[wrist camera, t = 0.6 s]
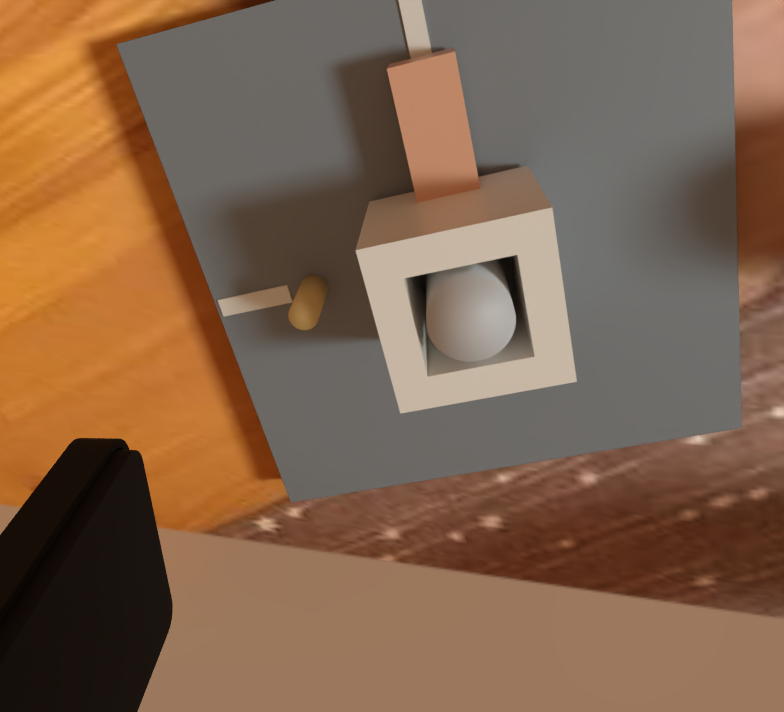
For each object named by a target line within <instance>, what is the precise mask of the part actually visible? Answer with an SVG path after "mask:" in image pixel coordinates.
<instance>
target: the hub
mask: <svg viewBox="0 0 784 712" xmlns="http://www.w3.org/2000/svg"><path fill="white" fill-rule="evenodd" d="M387 72H388V76H389V81H390V85H391V90H392V94H393V98H394V103H395V107H396V112H397V116H398V121H399V125H400V129H401V134H402V138H403V143H404V147H405V151H406V156H407V160H408V165H409V169H410V173H411V178H412V182H413V187H414V192H410V193H405V194H401V195H396V196H392V197H388V198H383V199H379V200H374V201H370V202H369V204H368V208H367V211H366V215H365V218H364V222H363V225H362V229H361V233H360V236H359V240H358V243H357V247H356V254H357V258H358V261H359V265H360V269H361V272H362V276H363V279H364V283H365V287H366V290H367V294H368V298H369V301H370V305H371V309H372V312H373V316H374V319H375V323H376V327H377V330H378V334H379V338H380V341H381V345H382V349H383V352H384V356H385V359H386V363H387V367H388V370H389V374H390V378H391V381H392V385H393V389H394V392H395V396H396V400H397V403H398V407H399V410H400V414H401V413H407V412H412V411H418V410H423V409H429V408H434V407H440V406H445V405H451V404H456V403H462V402H468V401H473V400H479V399H484V398H490V397H495V396H501V395H506V394H512V393H517V392H523V391H528V390H534V389H539V388H545V387H551V386H556V385H562V384H567V383H573V382H577V379H576V372H575V365H574V357H573V350H572V343H571V336H570V329H569V322H568V315H567V308H566V301H565V294H564V286H563V279H562V272H561V265H560V258H559V251H558V244H557V237H556V230H555V223H554V215H553V208H552V206H551V204H550V202H549V201H548V199H547V197H546V195H545V194H544V192H543V190H542V188H541V187H540V185H539V183H538V181H537V180H536V178H535V176H534V174H533V173H532V171H531V169H530V167H529V166H524V167H519V168H515V169H511V170H506V171H502V172H497V173H493V174H489V175H484V176H480V177H478V172H477V167H476V162H475V156H474V151H473V145H472V140H471V134H470V129H469V124H468V118H467V113H466V107H465V102H464V97H463V91H462V86H461V80H460V75H459V70H458V64H457V59H456V53H455V50H454V48H450V49H446V50H442V51H438V52H434V53H430V54H427V55H423V56H419V57H415V58H411V59H407V60H403V61H399V62H395V63H391V64H389V66H388V67H387ZM509 256H510V261H511V267H512V273H513V278H514V284H515V290H516V292H511V293H510V295H511V298H512V302H513V306H514V310H515V314H516V326H515V330H514V333H513V336H512V338H511V340H510V341H509V342H508V344H507V345H506V346H505V347H504V348H503V349H502V350H501V351H500V352H498V353H497V354H496V355H494V356H492V357H490V358H487V359H485V360H481V361H474V362H465V361H459V360H455V359H452V358H450V357H448V356H446V355H445V354H443V353H442V352H440V351H439V350H438V349H437V348H436V347H435V346H434V344H433V343H432V341H431V339H430V337H429V335H428V332H427V326H426V300H425V295H424V291H423V287H422V283H421V278H420V275H423V274H428V273H433V272H438V271H442V270H447V269H452V268H457V267H462V266H466V265H471V264H476V263H481V262H485V261H490V260H495V259H500V258H504V257H509Z"/></svg>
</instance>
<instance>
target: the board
mask: <svg viewBox="0 0 784 712" xmlns="http://www.w3.org/2000/svg"><path fill="white" fill-rule="evenodd" d="M116 45H117V48H118V50H119V53H120V55H121V58H122V61H123V63H124V66H125V69H126V71H127V74H128V76H129V79H130V82H131V84H132V87H133V90H134V92H135V95H136V97H137V100H138V103H139V105H140V108H141V111H142V113H143V116H144V118H145V121H146V124H147V126H148V129H149V132H150V134H151V137H152V139H153V142H154V145H155V147H156V150H157V153H158V155H159V158H160V160H161V163H162V166H163V168H164V171H165V174H166V176H167V179H168V181H169V184H170V187H171V189H172V192H173V195H174V197H175V200H176V202H177V205H178V208H179V210H180V213H181V215H182V218H183V221H184V223H185V226H186V229H187V231H188V234H189V236H190V239H191V242H192V244H193V247H194V250H195V252H196V255H197V257H198V260H199V263H200V265H201V268H202V271H203V273H204V276H205V278H206V281H207V284H208V286H209V289H210V292H211V294H212V297H213V299H214V302H215V305H216V307H217V310H218V313H219V315H220V318H221V320H222V323H223V326H224V328H225V331H226V334H227V336H228V339H229V341H230V344H231V347H232V349H233V352H234V355H235V357H236V360H237V362H238V365H239V368H240V370H241V373H242V376H243V378H244V381H245V383H246V386H247V389H248V391H249V394H250V397H251V399H252V402H253V404H254V407H255V410H256V412H257V415H258V418H259V420H260V423H261V425H262V428H263V431H264V433H265V436H266V439H267V441H268V444H269V446H270V449H271V452H272V454H273V457H274V460H275V462H276V465H277V467H278V470H279V473H280V475H281V478H282V481H283V483H284V486H285V488H286V491H287V494H288V496H289V499H290V502H297V501H303V500H309V499H315V498H321V497H327V496H333V495H339V494H345V493H351V492H358V491H364V490H370V489H376V488H382V487H388V486H394V485H400V484H406V483H412V482H418V481H424V480H430V479H436V478H442V477H448V476H454V475H460V474H466V473H472V472H478V471H484V470H490V469H496V468H502V467H508V466H515V465H521V464H527V463H533V462H539V461H545V460H551V459H557V458H563V457H569V456H575V455H581V454H587V453H593V452H599V451H605V450H611V449H617V448H623V447H629V446H635V445H641V444H647V443H653V442H659V441H665V440H672V439H678V438H684V437H690V436H696V435H702V434H708V433H714V432H720V431H726V430H732V429H738V428H742V417H741V373H740V328H739V284H738V239H737V195H736V150H735V106H734V61H733V17H732V0H275V1H271V2H267V3H264V4H260V5H256V6H253V7H249V8H246V9H242V10H238V11H235V12H231V13H228V14H224V15H220V16H217V17H213V18H209V19H206V20H202V21H199V22H195V23H191V24H188V25H184V26H181V27H177V28H173V29H170V30H166V31H162V32H159V33H155V34H152V35H148V36H144V37H141V38H137V39H134V40H130V41H126V42H123V43H119V44H116ZM450 48H454V50H455V53H456V59H457V64H458V70H459V75H460V80H461V86H462V91H463V97H464V102H465V107H466V113H467V118H468V124H469V129H470V134H471V140H472V145H473V151H474V156H475V162H476V167H477V172H478V177H480V176H484V175H489V174H493V173H497V172H502V171H506V170H511V169H515V168H519V167H524V166H529V167H530V169H531V171H532V173H533V174H534V176H535V178H536V180H537V181H538V183H539V185H540V187H541V188H542V190H543V192H544V194H545V195H546V197H547V199H548V201H549V202H550V204H551V206H552V208H553V215H554V223H555V230H556V237H557V244H558V251H559V258H560V265H561V272H562V279H563V286H564V294H565V301H566V308H567V315H568V322H569V329H570V336H571V343H572V350H573V357H574V365H575V372H576V379H577V382H573V383H567V384H562V385H556V386H551V387H545V388H539V389H534V390H528V391H523V392H517V393H512V394H506V395H501V396H495V397H490V398H484V399H479V400H473V401H468V402H462V403H456V404H451V405H445V406H440V407H434V408H429V409H423V410H418V411H412V412H407V413H401V414H400V410H399V407H398V403H397V400H396V396H395V392H394V389H393V385H392V381H391V378H390V374H389V370H388V367H387V363H386V359H385V356H384V352H383V349H382V345H381V341H380V338H379V334H378V330H377V327H376V323H375V319H374V316H373V312H372V309H371V305H370V301H369V298H368V294H367V290H366V287H365V283H364V279H363V276H362V272H361V269H360V265H359V261H358V258H357V254H356V247H357V243H358V240H359V236H360V233H361V229H362V225H363V222H364V218H365V215H366V211H367V208H368V204H369V202H370V201H374V200H379V199H383V198H388V197H392V196H396V195H401V194H405V193H410V192H414V187H413V182H412V178H411V173H410V169H409V165H408V160H407V156H406V151H405V147H404V143H403V138H402V134H401V129H400V125H399V121H398V116H397V112H396V107H395V103H394V98H393V94H392V90H391V85H390V81H389V76H388V72H387V67H388V66H389V64H391V63H395V62H399V61H403V60H407V59H411V58H415V57H419V56H423V55H427V54H430V53H434V52H438V51H442V50H446V49H450ZM420 278H421V283H422V287H423V291H424V295H425V300H426V326H427V332H428V335H429V337H430V339H431V341H432V343H433V344H434V346H435V347H436V348H437V349H438V350H439V351H440V352H442V353H443V354H445V355H446V356H448V357H450V358H452V359H455V360H459V361H465V362H474V361H481V360H485V359H487V358H490V357H492V356H494V355H496V354H497V353H498V352H500V351H501V350H502V349H503V348H504V347H505V346H506V345H507V344H508V342H509V341H510V340H511V338H512V336H513V333H514V330H515V326H516V314H515V310H514V306H513V302H512V298H511V295H510V293H511V292H516V290H515V284H514V278H513V273H512V267H511V261H510V256H509V257H504V258H500V259H495V260H490V261H485V262H481V263H476V264H471V265H466V266H462V267H457V268H452V269H447V270H442V271H438V272H433V273H428V274H423V275H420Z"/></svg>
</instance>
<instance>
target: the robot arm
mask: <svg viewBox="0 0 784 712" xmlns="http://www.w3.org/2000/svg"><path fill="white" fill-rule="evenodd" d="M171 620H172V598H171V594H170V588H169V584H168V579H167V574H166V569H165V564H164V559H163V555H162V550H161V545H160V540H159V535H158V531H157V526H156V521H155V516H154V511H153V507H152V502H151V497H150V492H149V487H148V483H147V478H146V473H145V468H144V463H143V459H142V456H141V454H140V453H139V451H136V450H129V448H128V445H127V444H126V442H125V441H124V440H122V439H103V438H78V439H75V440H74V441H73V442H71V443H70V444H69V446H68V447H67V448H66V450H65V451H64V452H63V454H62V455H61V456H60V458H59V459H58V460H57V461H56V463H55V464H54V465H53V467H52V468H51V469H50V471H49V472H48V473H47V475H46V476H45V477H44V478H43V480H42V481H41V482H40V484H39V485H38V486H37V488H36V489H35V490H34V492H33V493H32V494H31V496H30V497H29V498H28V499H27V501H26V502H25V503H24V505H23V506H22V507H21V509H20V510H19V511H18V513H17V514H16V515H15V517H14V518H13V519H12V520H11V522H10V523H9V524H8V526H7V527H6V528H5V530H4V531H3V532H2V533H1V535H0V712H137V711H138V709H139V706H140V703H141V701H142V698H143V696H144V693H145V691H146V688H147V685H148V683H149V680H150V678H151V675H152V672H153V670H154V667H155V665H156V662H157V660H158V657H159V655H160V652H161V649H162V647H163V644H164V642H165V639H166V637H167V634H168V631H169V628H170V625H171Z"/></svg>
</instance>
